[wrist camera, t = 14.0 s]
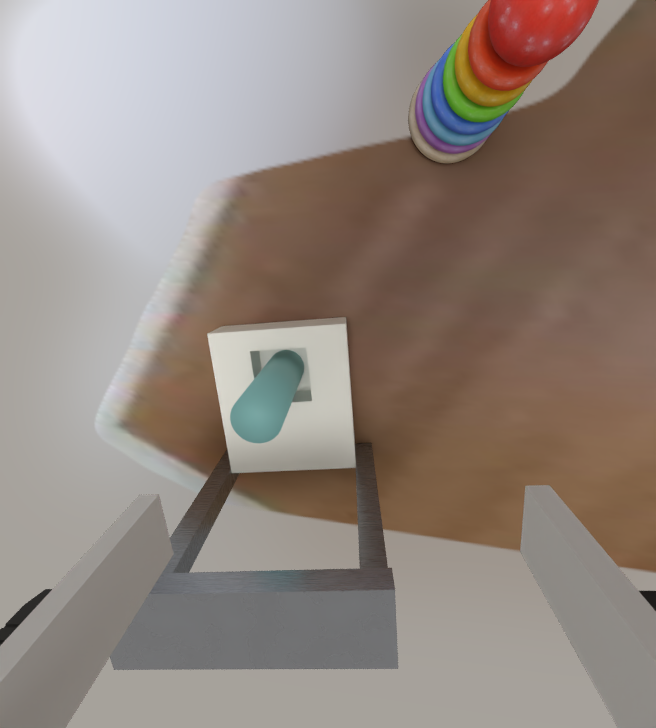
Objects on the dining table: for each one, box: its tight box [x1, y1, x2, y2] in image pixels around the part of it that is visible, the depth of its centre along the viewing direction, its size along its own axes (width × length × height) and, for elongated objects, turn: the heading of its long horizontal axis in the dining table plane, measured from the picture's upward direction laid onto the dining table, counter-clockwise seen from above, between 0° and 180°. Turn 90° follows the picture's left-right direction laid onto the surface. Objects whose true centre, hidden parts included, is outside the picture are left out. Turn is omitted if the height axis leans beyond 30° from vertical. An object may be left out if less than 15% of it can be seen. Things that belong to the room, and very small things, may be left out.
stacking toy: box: [408, 0, 599, 163], centre depth 25 cm, size 8×8×19 cm
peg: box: [230, 350, 304, 443], centre depth 34 cm, size 4×4×14 cm
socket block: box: [207, 317, 356, 473], centre depth 40 cm, size 16×14×4 cm
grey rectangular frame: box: [110, 443, 398, 670], centre depth 33 cm, size 6×18×24 cm, turn 95°
